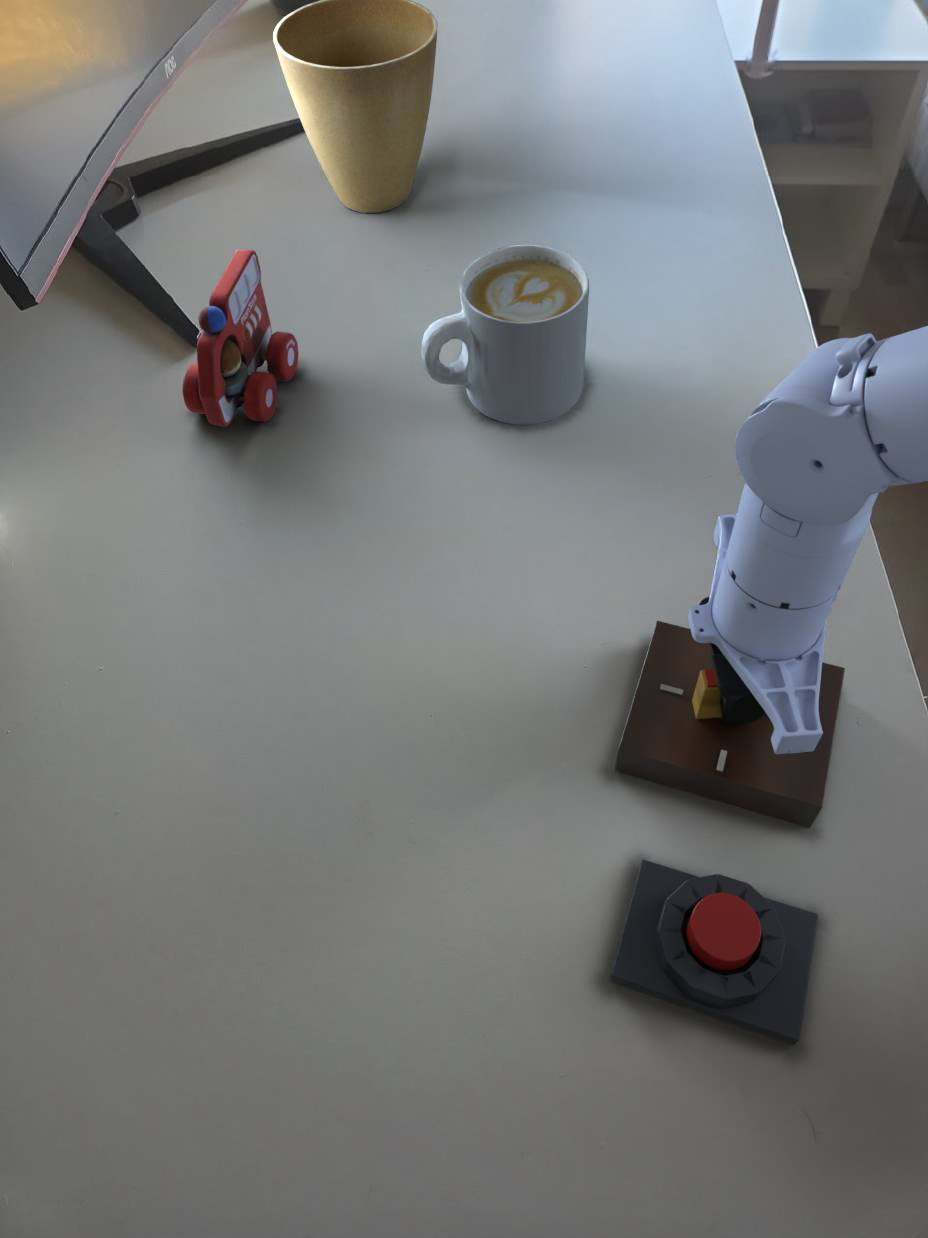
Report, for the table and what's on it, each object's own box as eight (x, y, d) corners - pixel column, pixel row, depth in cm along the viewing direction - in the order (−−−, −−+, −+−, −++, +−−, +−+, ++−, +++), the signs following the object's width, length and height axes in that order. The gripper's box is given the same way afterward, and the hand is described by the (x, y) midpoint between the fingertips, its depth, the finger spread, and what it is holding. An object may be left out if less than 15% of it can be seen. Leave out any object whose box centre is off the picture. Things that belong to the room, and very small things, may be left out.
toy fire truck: (181, 436, 80) (141, 333, 72) (236, 341, 87) (205, 237, 78) (259, 447, 79) (227, 344, 70) (309, 350, 86) (285, 246, 77)
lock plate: (832, 692, 63) (846, 666, 60) (810, 828, 57) (823, 806, 55) (651, 645, 66) (657, 618, 63) (614, 771, 60) (618, 747, 58)
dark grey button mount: (813, 921, 54) (827, 903, 52) (794, 1046, 51) (808, 1033, 48) (639, 866, 57) (645, 846, 54) (609, 982, 53) (613, 966, 50)
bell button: (760, 916, 52) (767, 905, 51) (748, 980, 50) (754, 971, 49) (694, 894, 53) (698, 883, 51) (679, 957, 51) (684, 948, 50)
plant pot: (360, 253, 94) (334, 84, 81) (278, 192, 101) (242, 27, 88) (477, 194, 99) (470, 25, 86) (391, 140, 106) (373, -23, 93)
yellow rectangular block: (772, 694, 59) (785, 661, 56) (777, 713, 59) (791, 681, 56) (691, 700, 59) (700, 667, 56) (695, 720, 59) (705, 688, 56)
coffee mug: (572, 340, 85) (577, 237, 76) (593, 417, 79) (600, 315, 71) (421, 357, 84) (410, 256, 76) (431, 436, 79) (420, 335, 70)
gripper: (676, 465, 52) (649, 612, 63) (738, 695, 43) (694, 819, 54) (806, 454, 52) (756, 603, 63) (893, 682, 43) (818, 808, 54)
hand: (735, 703), depth 59 cm, fingers closed on yellow rectangular block
